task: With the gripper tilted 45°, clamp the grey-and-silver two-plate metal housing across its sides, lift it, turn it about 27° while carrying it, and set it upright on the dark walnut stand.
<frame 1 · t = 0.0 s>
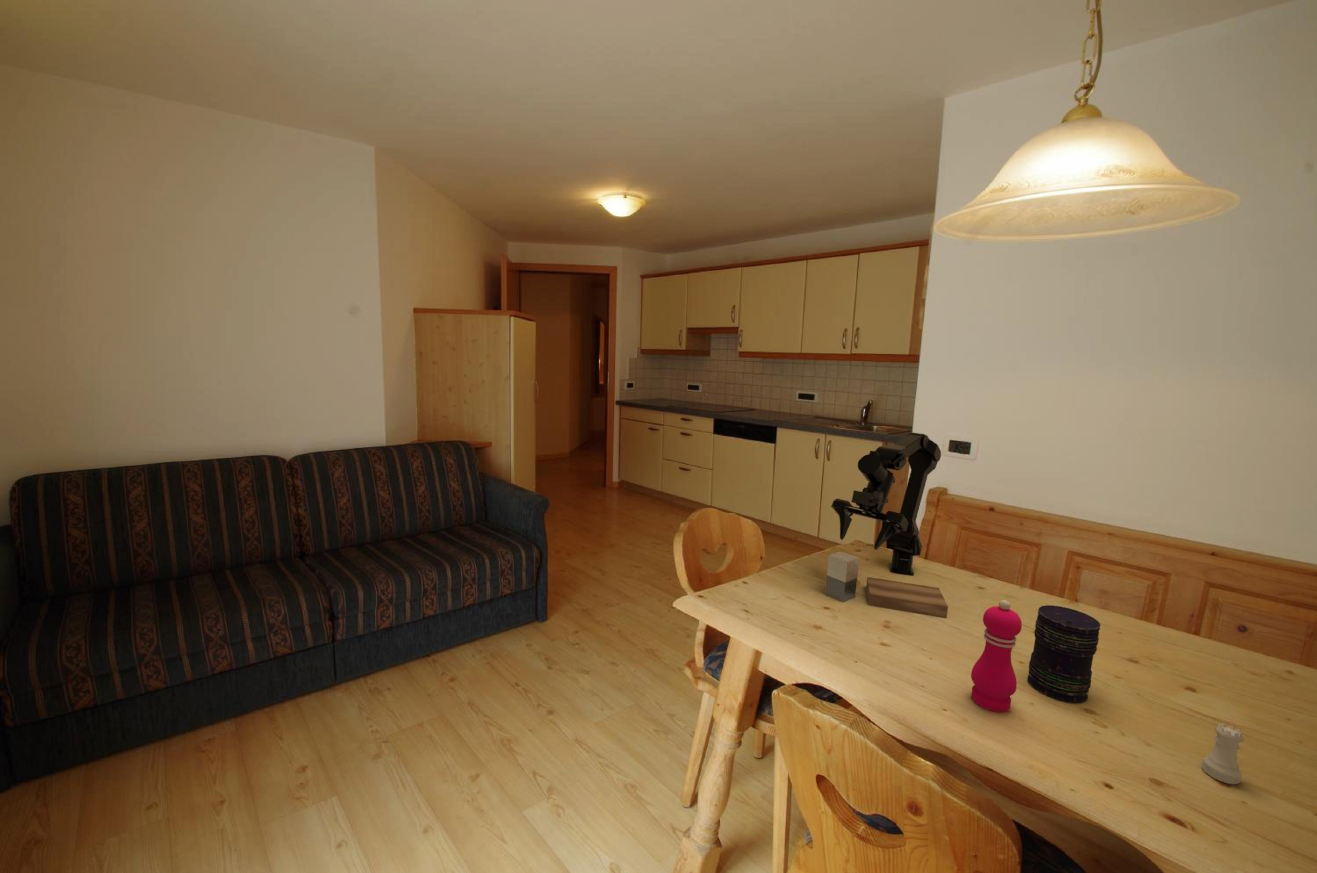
hand: (857, 544, 142), 15 cm above the table, fingers open, 9 cm apart
housing: (840, 596, 146), on the table
stand: (903, 601, 144), on the table
pepper mill: (990, 702, 102), on the table
dark ridged cylinder: (1056, 689, 108), on the table
rook chess piece: (1219, 776, 86), on the table
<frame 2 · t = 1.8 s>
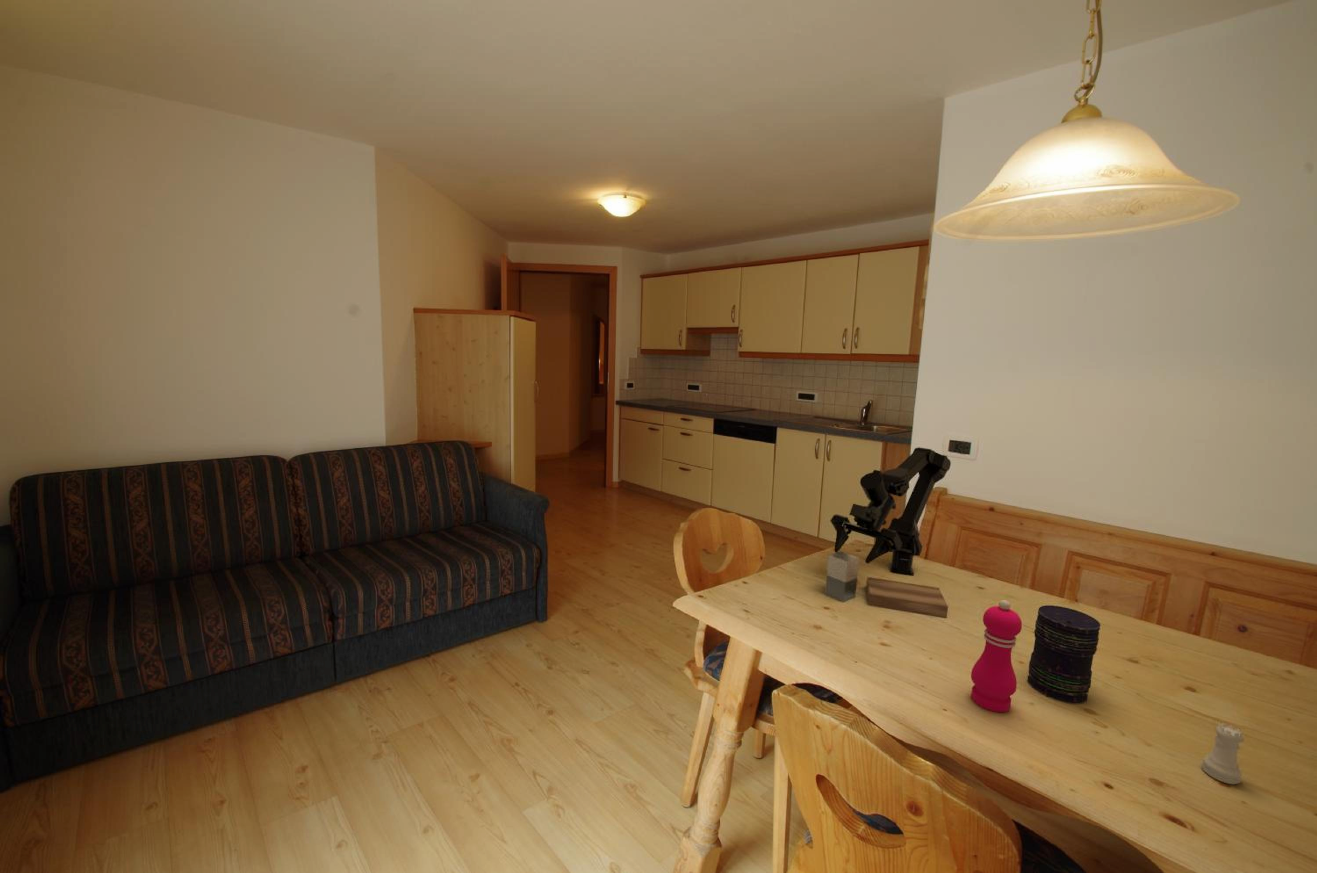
hand: (850, 557, 146), 10 cm above the table, fingers open, 9 cm apart
nothing on the table moved.
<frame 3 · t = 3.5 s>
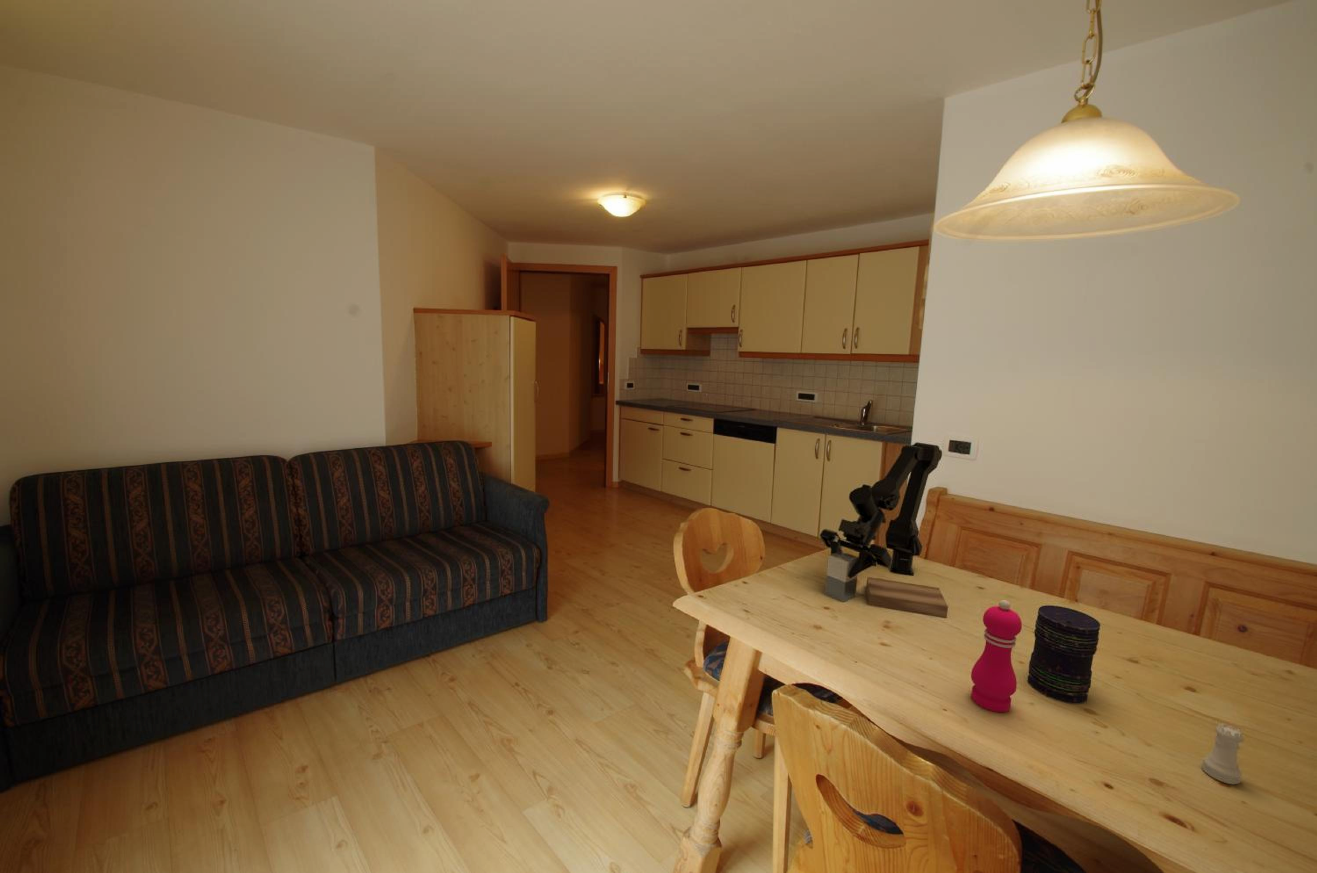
hand: (839, 573, 144), 7 cm above the table, fingers closed on housing, 5 cm apart
housing: (840, 596, 146), on the table, touching gripper
everything else where it was.
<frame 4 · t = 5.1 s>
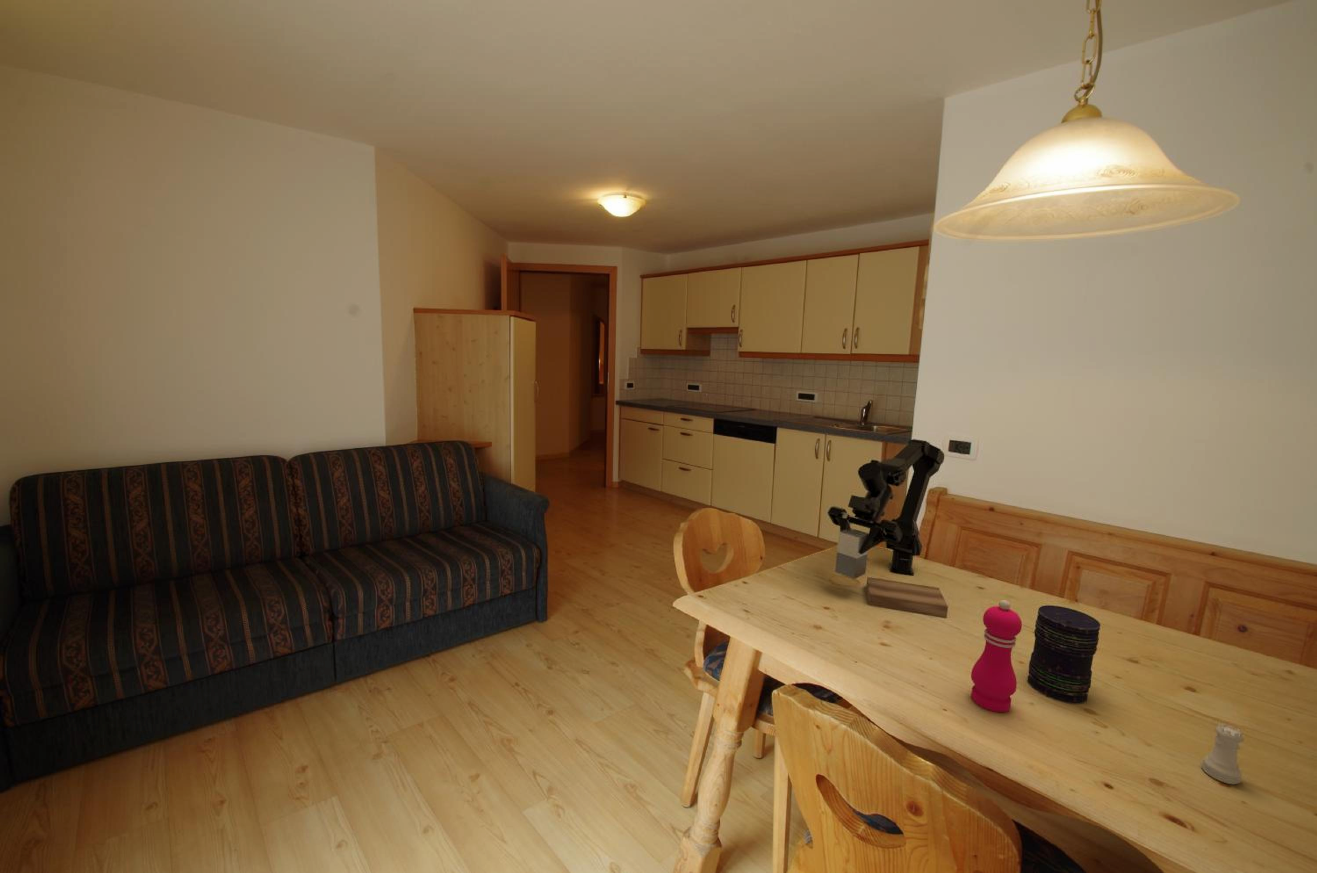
hand: (849, 550, 142), 13 cm above the table, fingers closed on housing, 5 cm apart
housing: (850, 573, 144), point 7 cm above the table, touching gripper
everything else where it was.
when the fingers open (11 cm above the table, at t = 7.0 s): housing drops 1 cm, resting on stand.
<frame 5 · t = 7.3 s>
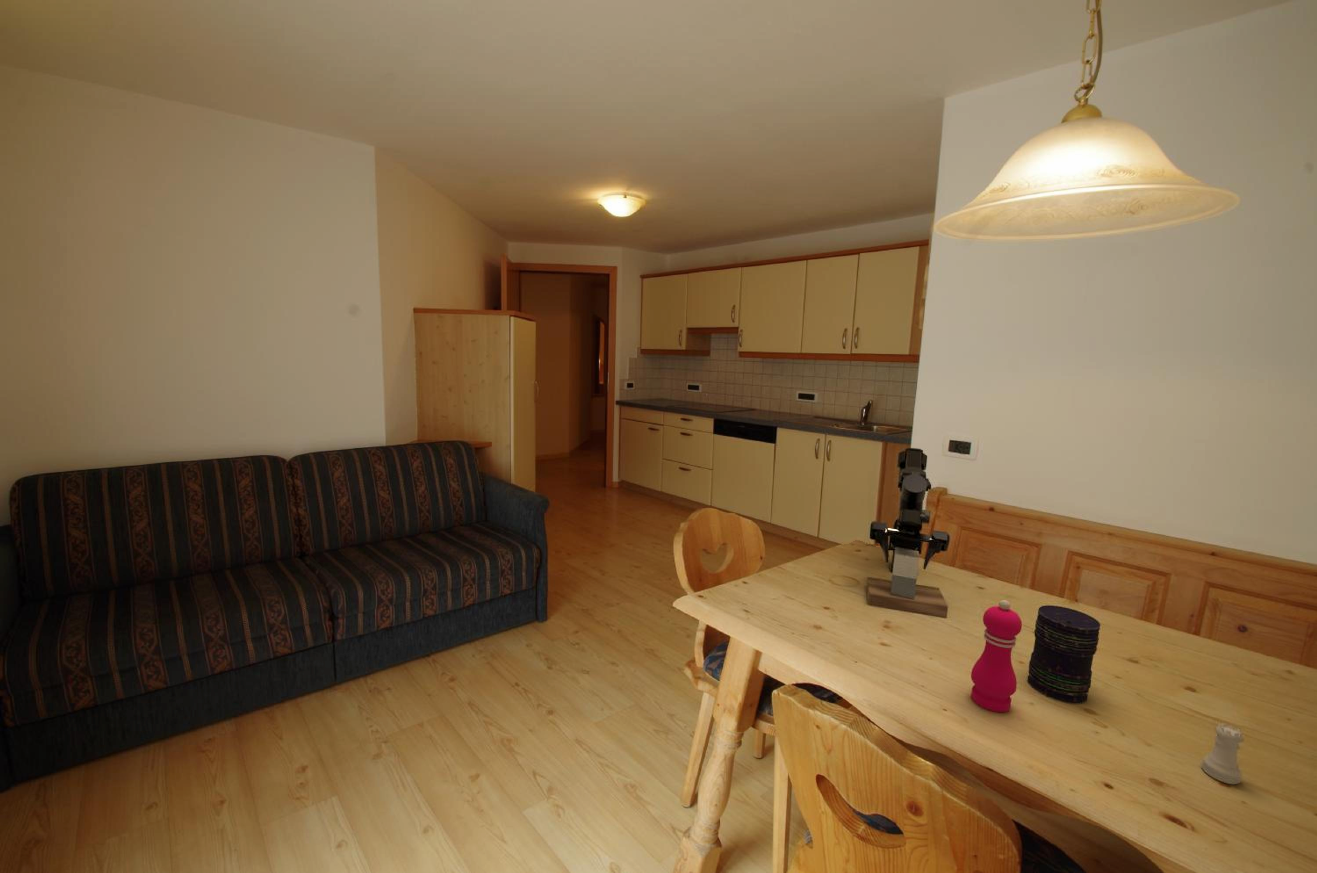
hand: (905, 565, 140), 11 cm above the table, fingers open, 8 cm apart
housing: (902, 593, 142), point 3 cm above the table, touching stand
everything else where it was.
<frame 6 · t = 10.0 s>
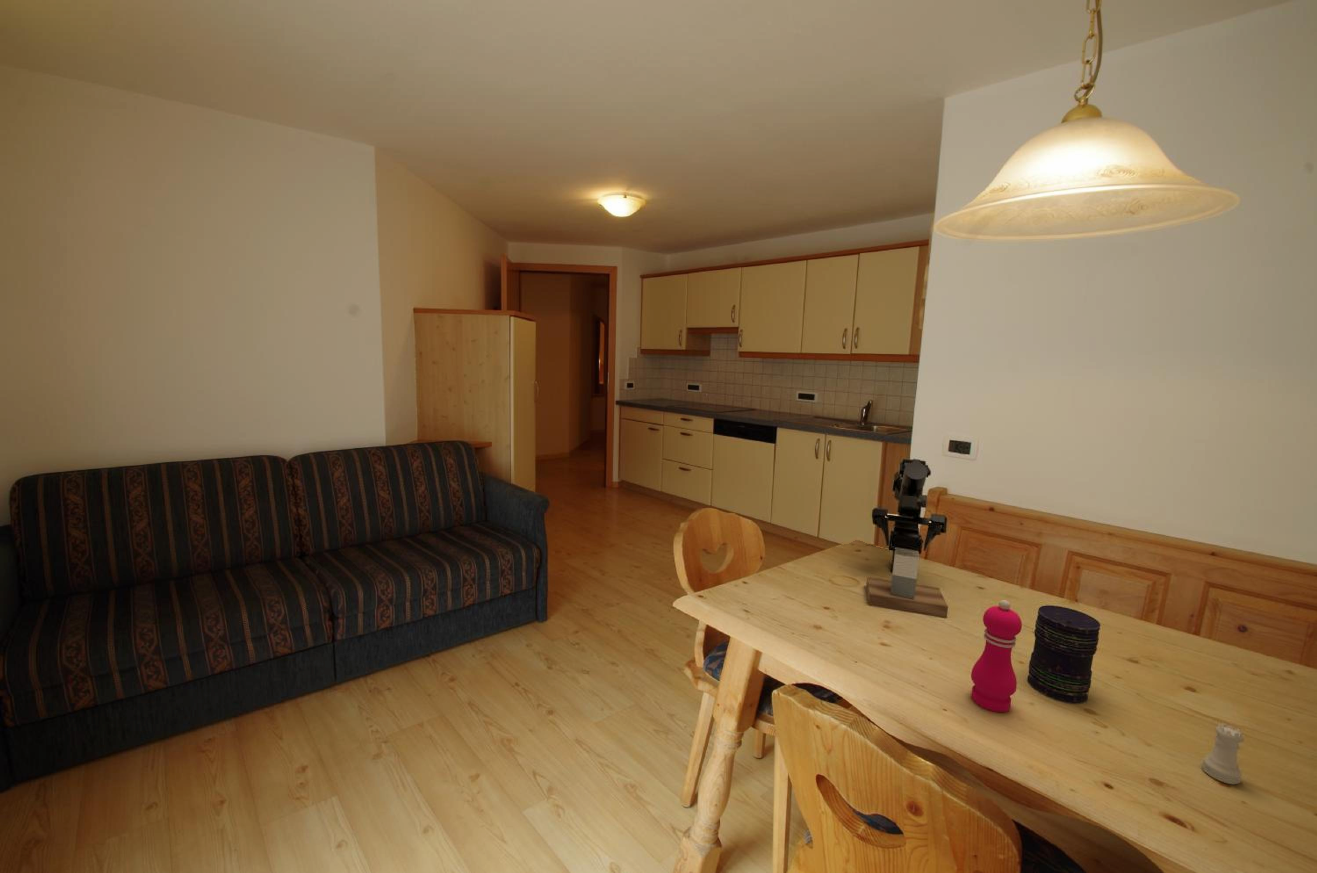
hand: (905, 547, 148), 13 cm above the table, fingers open, 9 cm apart
nothing on the table moved.
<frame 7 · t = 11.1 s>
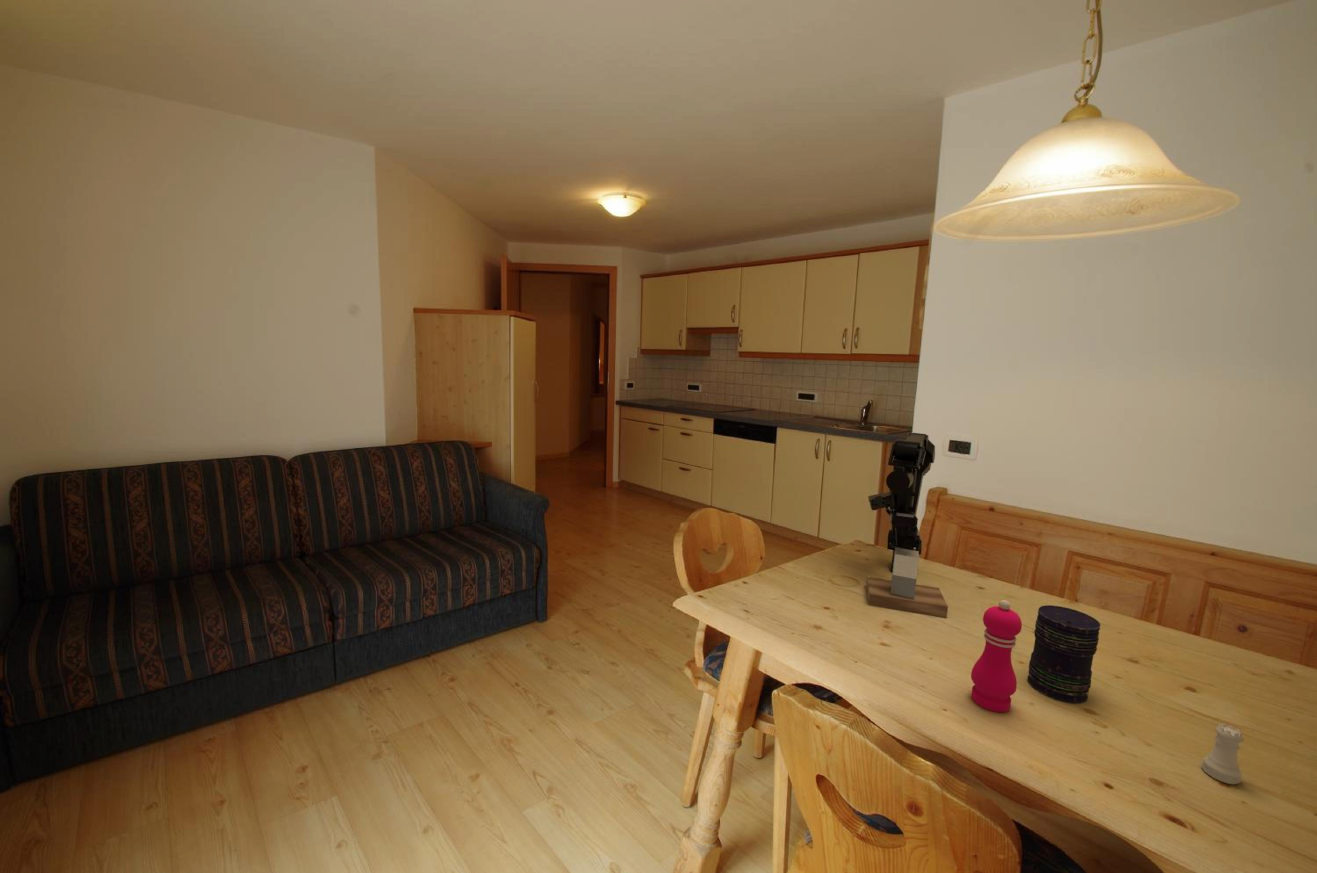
hand: (896, 541, 152), 13 cm above the table, fingers open, 9 cm apart
nothing on the table moved.
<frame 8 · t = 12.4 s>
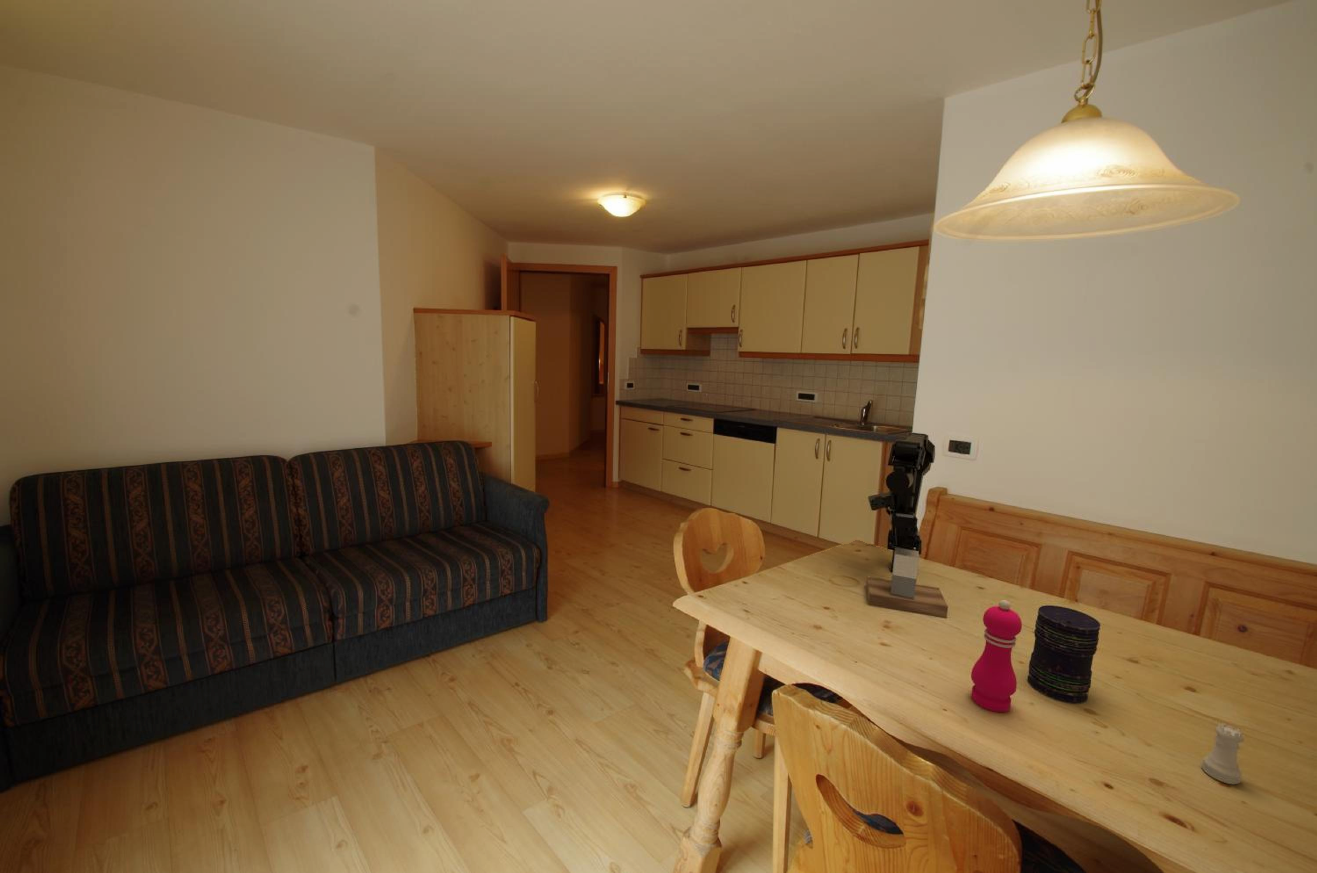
hand: (896, 541, 152), 13 cm above the table, fingers open, 9 cm apart
nothing on the table moved.
at the end: housing inside the target area on the stand (2.2 cm from its centre), point 3.0 cm above the stand's base; housing tilted 0°; housing touching stand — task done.
